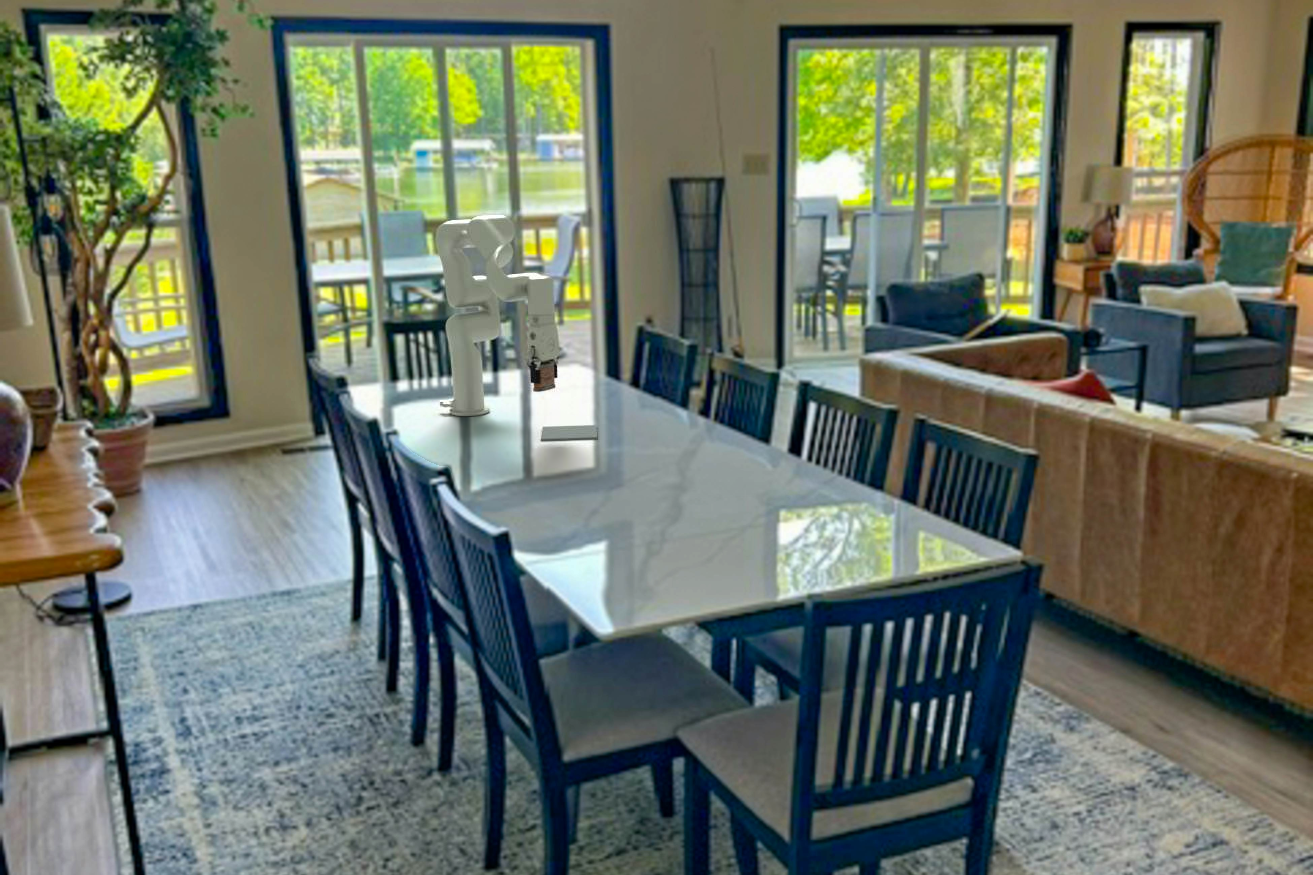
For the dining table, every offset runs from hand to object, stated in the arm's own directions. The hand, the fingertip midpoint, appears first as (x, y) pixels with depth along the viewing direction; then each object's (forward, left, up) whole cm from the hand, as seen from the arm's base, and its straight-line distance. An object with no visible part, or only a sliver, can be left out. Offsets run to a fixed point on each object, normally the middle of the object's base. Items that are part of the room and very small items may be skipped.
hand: (544, 380), depth 325 cm
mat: (+7, 0, -16) cm, 17 cm away
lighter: (0, 0, -3) cm, 3 cm away
